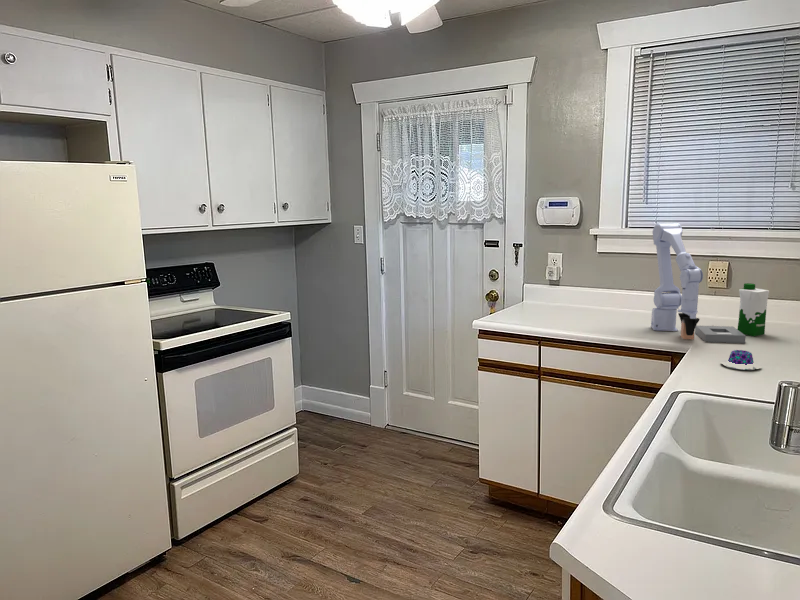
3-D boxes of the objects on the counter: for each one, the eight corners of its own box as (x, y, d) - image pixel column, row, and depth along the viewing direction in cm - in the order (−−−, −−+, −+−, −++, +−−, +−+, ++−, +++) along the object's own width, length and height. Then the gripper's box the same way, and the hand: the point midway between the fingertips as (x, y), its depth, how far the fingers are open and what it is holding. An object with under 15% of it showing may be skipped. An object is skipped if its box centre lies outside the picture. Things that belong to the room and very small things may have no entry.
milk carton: (746, 330, 250) (750, 282, 246) (768, 334, 242) (773, 285, 238) (733, 333, 246) (737, 284, 242) (754, 337, 238) (759, 287, 234)
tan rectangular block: (682, 339, 238) (683, 321, 236) (680, 336, 241) (681, 319, 240) (693, 339, 237) (695, 321, 236) (691, 337, 241) (692, 319, 239)
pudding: (713, 367, 201) (714, 351, 200) (728, 360, 208) (729, 345, 207) (753, 374, 192) (754, 358, 191) (767, 367, 199) (768, 351, 198)
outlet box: (704, 342, 232) (705, 333, 232) (694, 332, 248) (695, 324, 247) (745, 343, 229) (745, 335, 228) (732, 333, 244) (733, 326, 244)
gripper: (674, 295, 244) (672, 328, 247) (682, 302, 230) (680, 337, 233) (693, 296, 243) (691, 329, 245) (703, 302, 229) (700, 337, 231)
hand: (687, 333), depth 239 cm, fingers open, 6 cm apart
